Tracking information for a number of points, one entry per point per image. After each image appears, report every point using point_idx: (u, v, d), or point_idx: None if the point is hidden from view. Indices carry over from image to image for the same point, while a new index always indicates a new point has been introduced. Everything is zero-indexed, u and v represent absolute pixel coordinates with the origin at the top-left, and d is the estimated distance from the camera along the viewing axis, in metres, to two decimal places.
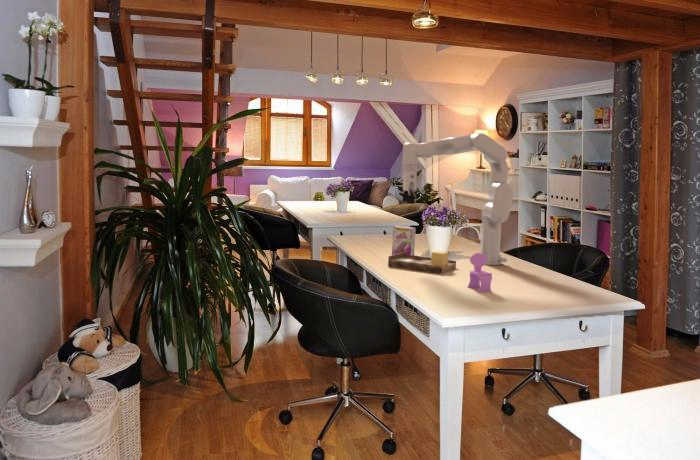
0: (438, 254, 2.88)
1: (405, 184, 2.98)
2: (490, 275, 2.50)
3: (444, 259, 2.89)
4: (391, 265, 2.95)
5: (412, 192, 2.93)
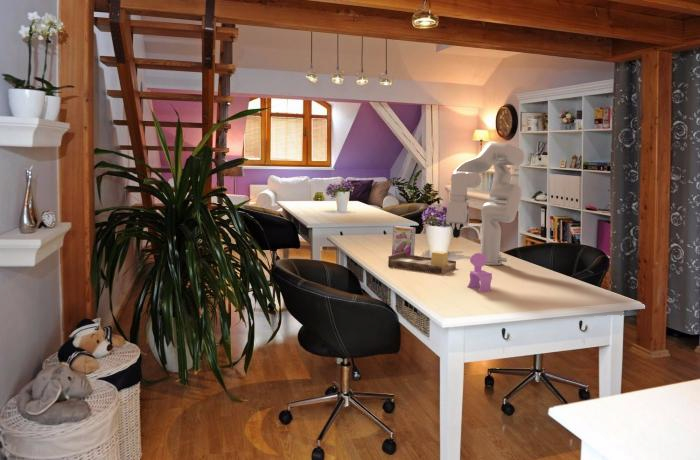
0: (438, 254, 2.88)
1: (458, 216, 2.81)
2: (490, 275, 2.50)
3: (444, 259, 2.89)
4: (391, 265, 2.95)
5: None
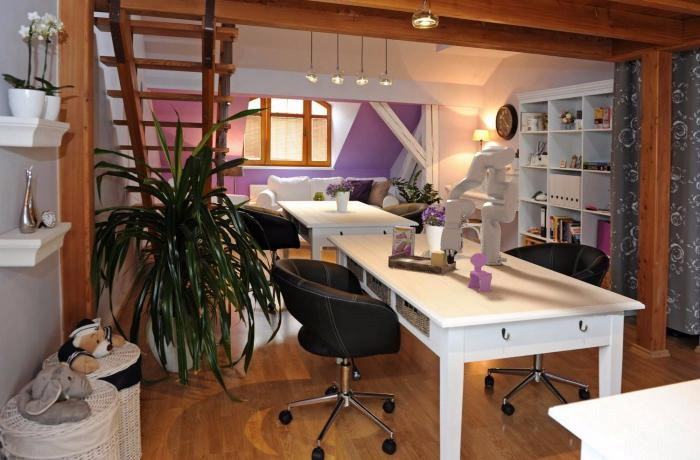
0: (438, 254, 2.88)
1: (452, 243, 2.84)
2: (490, 275, 2.50)
3: (444, 259, 2.89)
4: (391, 265, 2.95)
5: None
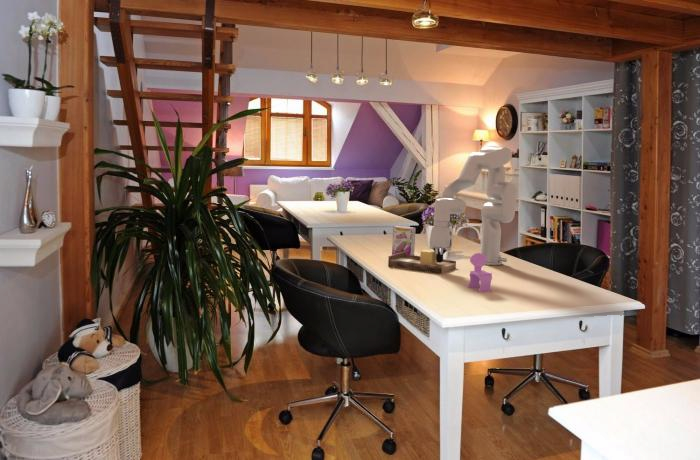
0: (427, 253, 2.90)
1: (441, 242, 2.87)
2: (490, 275, 2.50)
3: (433, 258, 2.91)
4: (391, 265, 2.95)
5: None
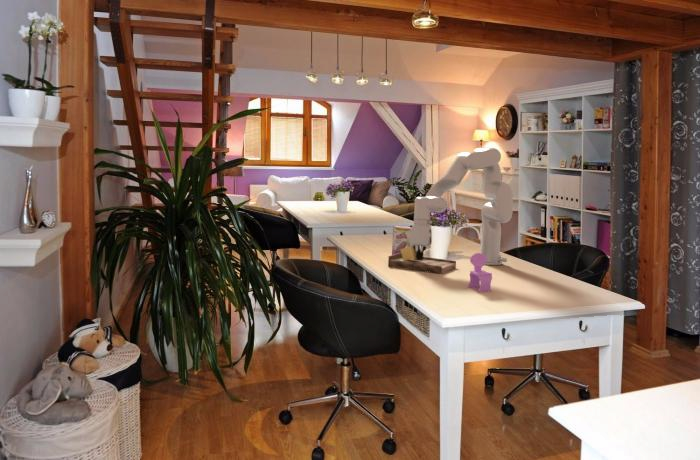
0: (406, 248, 2.96)
1: (421, 239, 2.92)
2: (490, 275, 2.50)
3: (414, 252, 2.96)
4: (391, 265, 2.95)
5: (424, 248, 2.94)
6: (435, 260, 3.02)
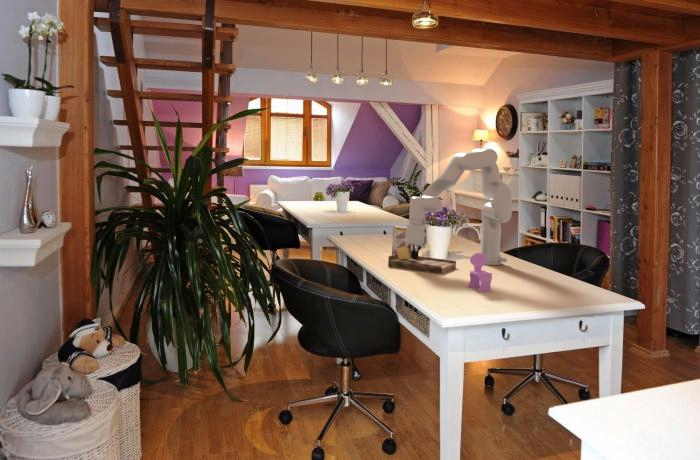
0: (402, 248, 2.98)
1: (416, 239, 2.94)
2: (490, 275, 2.50)
3: (409, 251, 2.98)
4: (391, 265, 2.95)
5: None
6: (435, 260, 3.02)
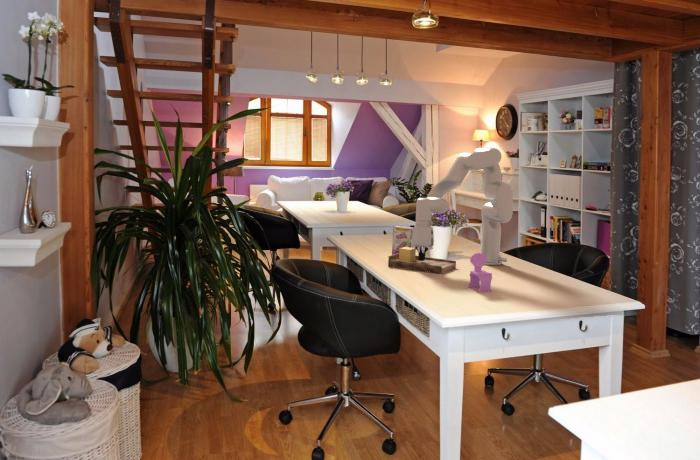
0: (405, 250, 2.97)
1: (423, 240, 2.92)
2: (490, 275, 2.50)
3: (411, 255, 2.97)
4: (391, 265, 2.95)
5: None
6: (435, 260, 3.02)
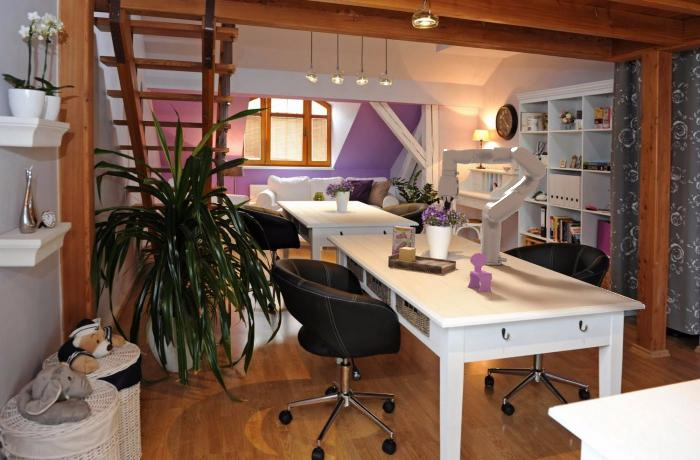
0: (405, 250, 2.97)
1: (449, 190, 3.05)
2: (490, 275, 2.50)
3: (411, 255, 2.97)
4: (391, 265, 2.95)
5: None
6: (435, 260, 3.02)
